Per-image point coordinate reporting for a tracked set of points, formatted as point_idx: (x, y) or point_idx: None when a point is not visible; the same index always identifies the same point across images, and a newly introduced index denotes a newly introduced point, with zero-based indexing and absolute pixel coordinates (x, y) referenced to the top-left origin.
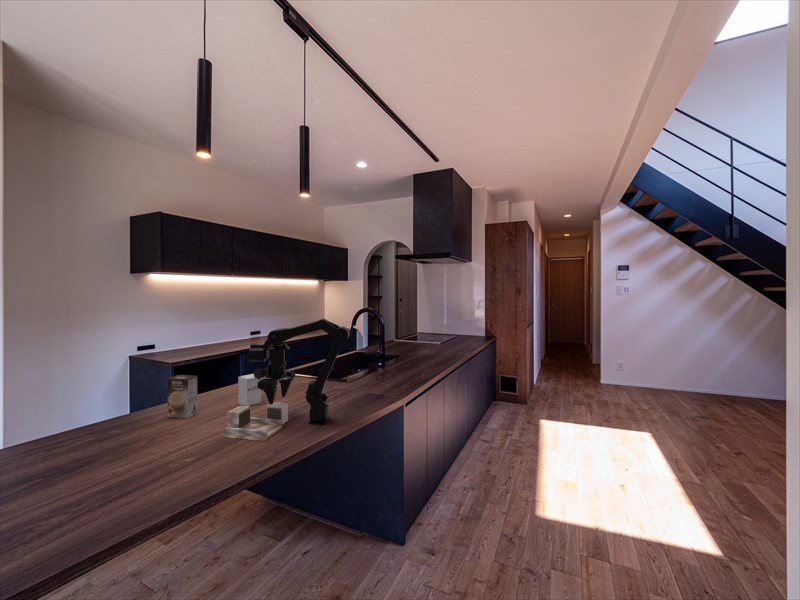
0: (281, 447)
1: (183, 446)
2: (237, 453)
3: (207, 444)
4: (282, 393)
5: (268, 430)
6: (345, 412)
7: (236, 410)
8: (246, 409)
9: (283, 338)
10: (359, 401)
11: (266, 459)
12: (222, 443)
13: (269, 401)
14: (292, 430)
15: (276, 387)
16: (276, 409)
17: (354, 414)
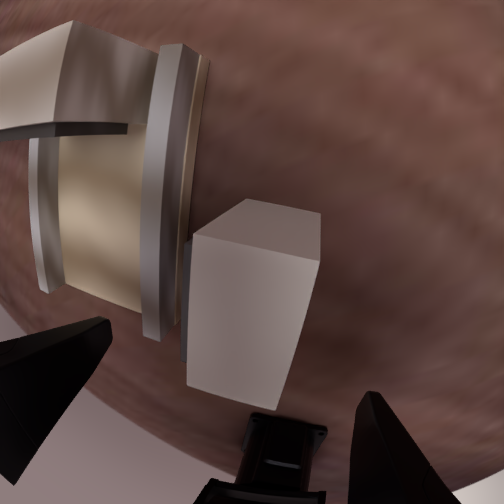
0: None
1: (33, 16)
2: (7, 216)
3: None
4: (367, 427)
5: (103, 272)
6: None
7: (3, 87)
8: (34, 124)
9: None
10: (458, 479)
11: (16, 304)
12: None
13: (73, 331)
14: (168, 360)
15: (2, 474)
16: (184, 328)
17: (340, 493)
